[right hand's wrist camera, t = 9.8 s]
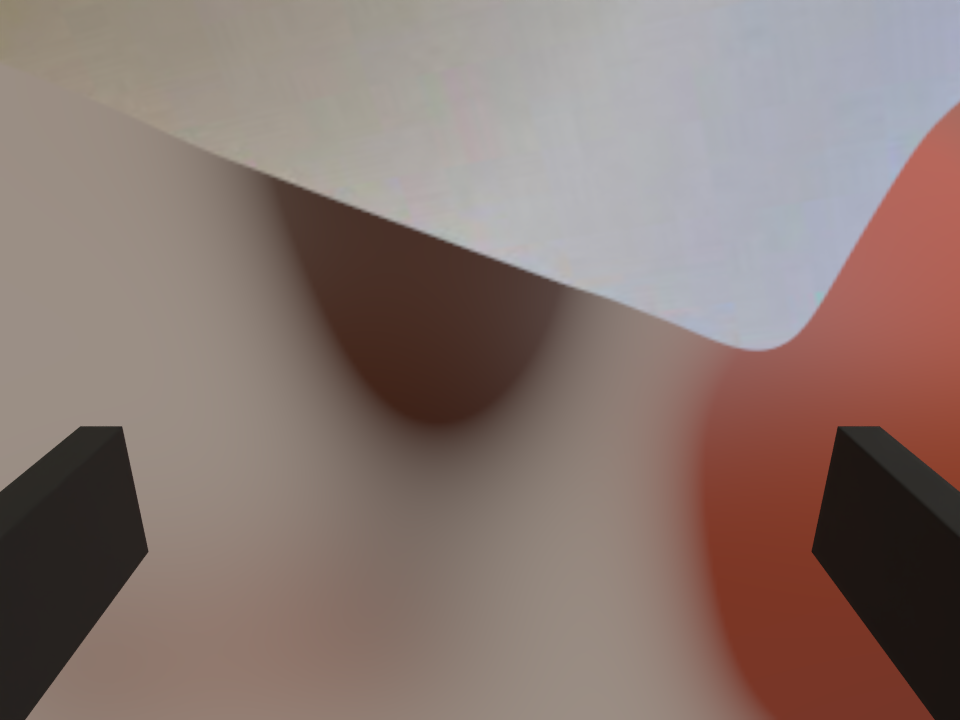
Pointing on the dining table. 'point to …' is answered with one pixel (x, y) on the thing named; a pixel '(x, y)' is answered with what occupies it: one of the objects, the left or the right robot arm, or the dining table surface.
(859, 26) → the dining table surface
